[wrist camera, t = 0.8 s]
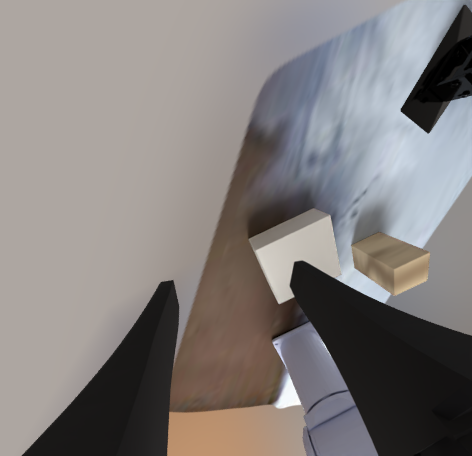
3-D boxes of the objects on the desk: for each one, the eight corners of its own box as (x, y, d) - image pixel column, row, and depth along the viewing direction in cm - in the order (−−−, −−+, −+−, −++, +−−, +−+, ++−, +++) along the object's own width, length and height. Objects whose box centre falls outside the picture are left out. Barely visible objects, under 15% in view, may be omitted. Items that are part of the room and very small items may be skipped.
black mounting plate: (464, -19, 16) (559, -84, 12) (499, 31, 18) (589, -9, 14) (382, 122, 19) (432, 111, 15) (419, 150, 21) (473, 147, 17)
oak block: (380, 255, 26) (427, 280, 21) (354, 267, 26) (394, 295, 21) (379, 231, 24) (430, 252, 19) (351, 245, 24) (394, 269, 19)
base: (325, 261, 25) (341, 274, 22) (270, 288, 25) (278, 304, 22) (313, 208, 21) (330, 215, 18) (248, 239, 21) (255, 250, 18)
